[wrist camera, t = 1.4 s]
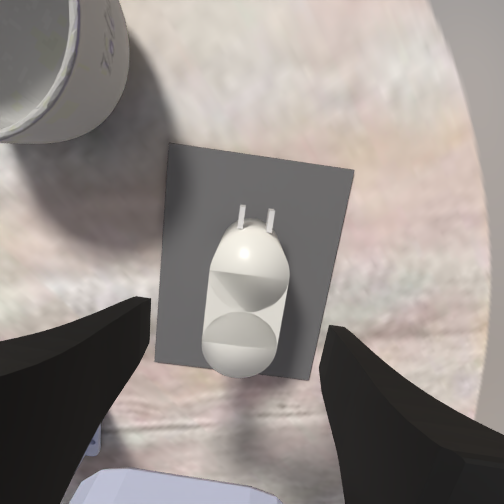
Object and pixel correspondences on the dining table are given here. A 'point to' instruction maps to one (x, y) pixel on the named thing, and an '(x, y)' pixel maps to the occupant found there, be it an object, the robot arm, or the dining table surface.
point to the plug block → (245, 298)
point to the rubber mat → (214, 226)
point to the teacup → (59, 67)
